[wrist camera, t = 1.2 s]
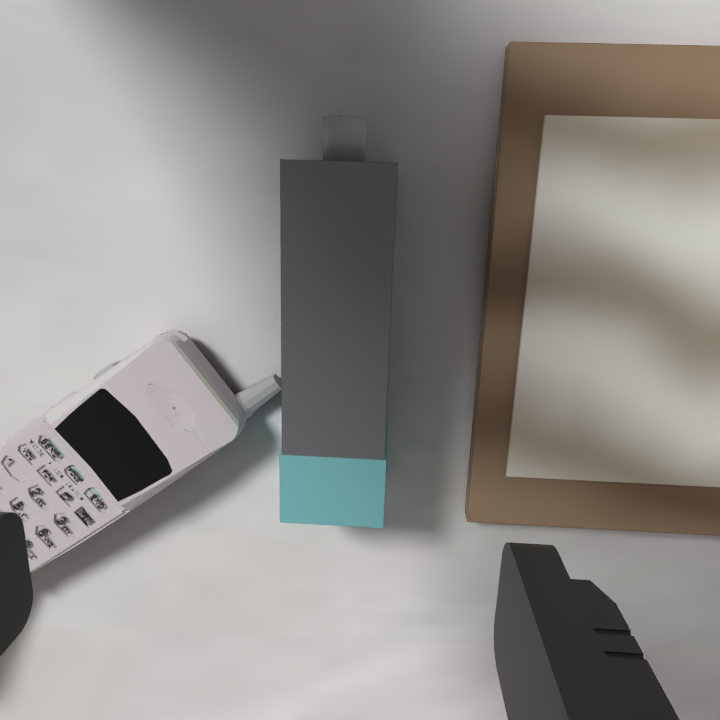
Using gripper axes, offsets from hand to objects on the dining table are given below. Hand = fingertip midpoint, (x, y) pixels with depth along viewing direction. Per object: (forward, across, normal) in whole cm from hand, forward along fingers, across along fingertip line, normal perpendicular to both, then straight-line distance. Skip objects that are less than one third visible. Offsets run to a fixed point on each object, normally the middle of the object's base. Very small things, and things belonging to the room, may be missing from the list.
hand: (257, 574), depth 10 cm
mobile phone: (+18, +14, +8) cm, 24 cm away
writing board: (+17, -15, -2) cm, 23 cm away
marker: (+17, 0, 0) cm, 17 cm away
